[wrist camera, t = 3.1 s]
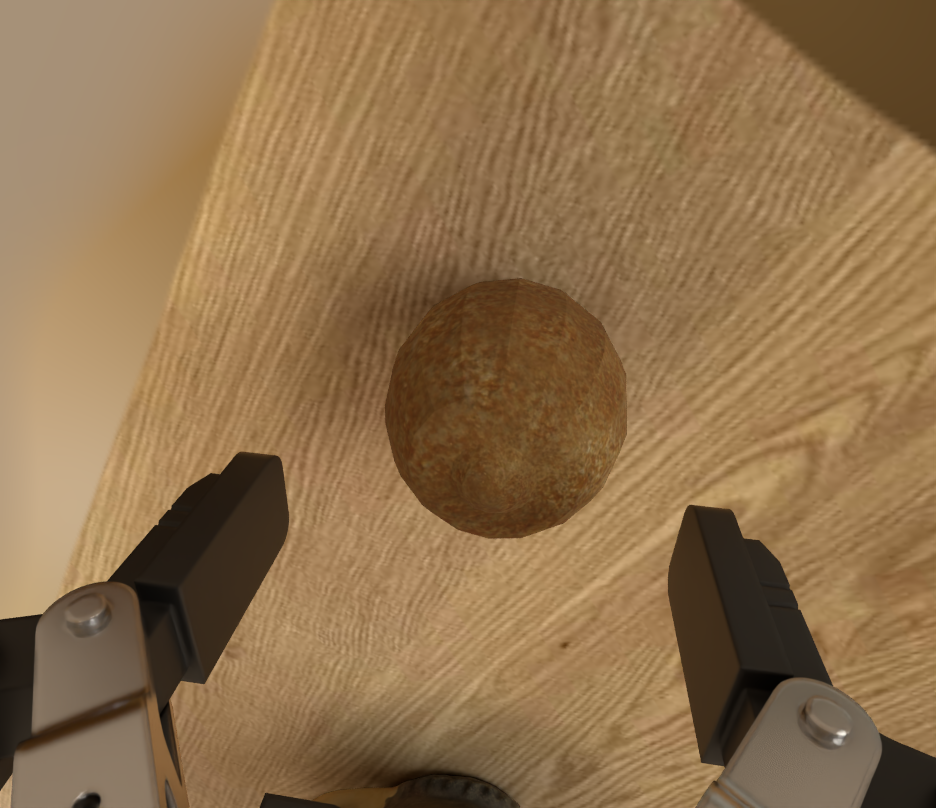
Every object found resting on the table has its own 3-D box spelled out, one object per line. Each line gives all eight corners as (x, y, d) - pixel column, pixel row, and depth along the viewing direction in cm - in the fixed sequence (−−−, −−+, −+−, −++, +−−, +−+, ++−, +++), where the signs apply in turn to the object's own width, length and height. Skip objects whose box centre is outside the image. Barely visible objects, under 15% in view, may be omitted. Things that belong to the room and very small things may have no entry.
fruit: (391, 276, 19) (293, 405, 12) (590, 214, 17) (605, 323, 10) (459, 439, 22) (409, 619, 15) (636, 400, 20) (673, 583, 13)
